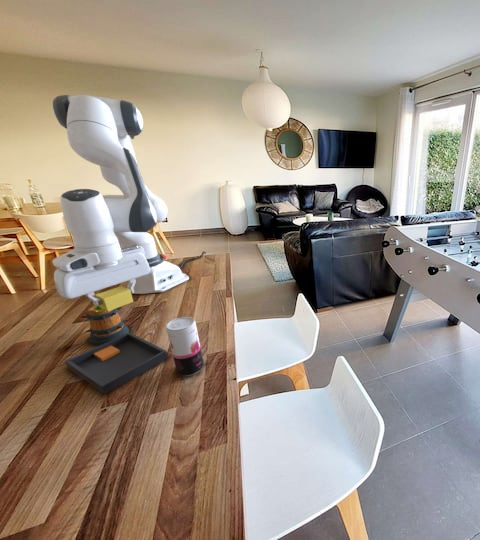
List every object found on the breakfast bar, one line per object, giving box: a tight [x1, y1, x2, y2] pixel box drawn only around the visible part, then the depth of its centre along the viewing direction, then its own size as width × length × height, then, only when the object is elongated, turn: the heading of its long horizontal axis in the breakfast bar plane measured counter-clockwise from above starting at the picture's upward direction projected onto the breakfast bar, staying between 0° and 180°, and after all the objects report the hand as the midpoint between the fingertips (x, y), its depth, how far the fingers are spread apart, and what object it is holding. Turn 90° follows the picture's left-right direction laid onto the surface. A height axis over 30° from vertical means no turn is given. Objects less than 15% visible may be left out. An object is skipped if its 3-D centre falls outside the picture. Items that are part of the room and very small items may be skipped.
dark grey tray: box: [64, 331, 169, 395], centre depth 80 cm, size 16×19×2 cm
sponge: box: [94, 285, 134, 311], centre depth 81 cm, size 6×4×4 cm
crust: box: [93, 346, 120, 361], centre depth 83 cm, size 4×4×1 cm
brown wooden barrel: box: [81, 296, 130, 346], centre depth 91 cm, size 13×10×12 cm
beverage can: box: [165, 316, 205, 377], centre depth 77 cm, size 6×6×15 cm
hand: (114, 298), depth 81 cm, fingers closed on sponge, 6 cm apart
